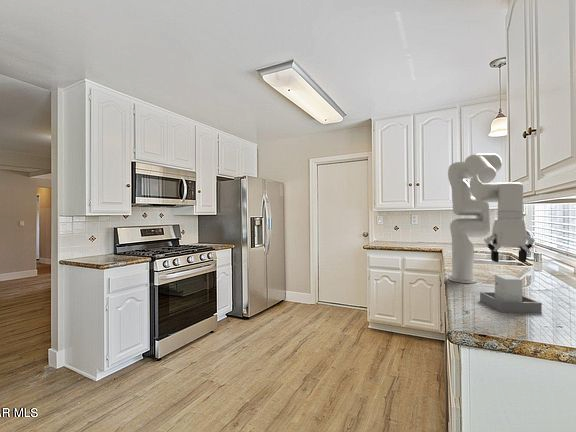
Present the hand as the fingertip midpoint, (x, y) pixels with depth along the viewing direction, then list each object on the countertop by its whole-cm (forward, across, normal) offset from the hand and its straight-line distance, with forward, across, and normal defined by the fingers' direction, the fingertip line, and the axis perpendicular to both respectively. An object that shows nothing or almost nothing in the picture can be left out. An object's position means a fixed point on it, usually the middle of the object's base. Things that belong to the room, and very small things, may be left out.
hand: (508, 261), depth 116 cm
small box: (+16, 0, +1) cm, 17 cm away
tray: (+17, 0, +1) cm, 17 cm away
